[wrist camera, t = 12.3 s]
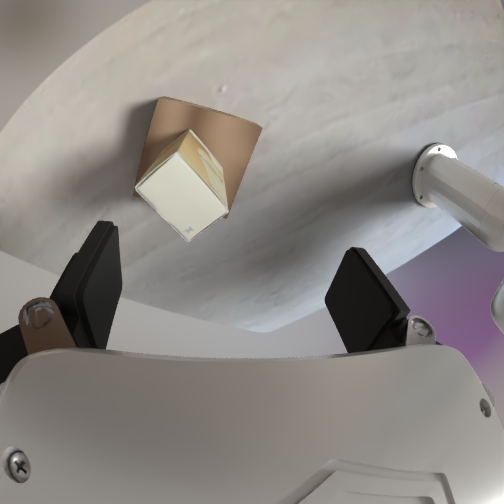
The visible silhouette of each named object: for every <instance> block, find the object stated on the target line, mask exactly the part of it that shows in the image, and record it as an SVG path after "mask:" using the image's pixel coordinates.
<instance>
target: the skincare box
mask: <svg viewBox="0 0 504 504" xmlns="http://www.w3.org/2000/svg"><path fill="white" fill-rule="evenodd" d="M135 190H136V191H137V192H138V193H139V194H140V195H141V196H142V197H143V198H144V199H145V200H146V201H147V202H148V203H149V204H150V205H151V207H152V208H153V209H154V210H155V211H156V212H157V213H158V214H159V215H160V216H161V217H162V218H163V219H164V220H165V221H166V222H167V223H168V224H169V225H170V226H171V227H172V228H173V229H174V230H175V231H176V232H177V233H178V234H179V235H180V236H182V237H183V238H184V239H185V241H187V242H190V241H191V240H192V239H194V238H195V237H196V236H198V235H199V234H200V233H202V232H203V231H205V230H206V229H207V228H209V227H210V226H212V225H213V224H214V223H216V222H217V221H218V220H219V219H221V218H222V217H223V216H224V215H226V214H227V213H228V212H229V210H228V204H227V197H226V190H225V183H224V175H223V168H222V166H221V165H220V164H219V162H218V161H217V160H216V158H215V157H214V156H213V154H212V153H211V152H210V151H209V150H208V148H207V147H206V146H205V145H204V144H203V143H202V141H201V140H200V139H199V138H198V137H197V136H196V135H195V134H194V132H193V131H192V130H191V129H189V130H188V131H186V132H185V133H184V134H182V135H181V136H180V137H178V138H177V139H176V140H175V141H173V142H172V143H171V144H170V145H169V146H168V147H166V148H165V149H164V150H163V151H162V152H161V153H160V155H159V156H158V157H157V158H156V160H155V161H154V162H153V164H152V165H151V166H150V167H149V169H148V170H147V171H146V173H145V174H144V175H143V177H142V178H141V179H140V181H139V182H138V183H137V185H136V186H135Z"/></svg>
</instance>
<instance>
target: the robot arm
mask: <svg viewBox="0 0 504 504" xmlns="http://www.w3.org/2000/svg"><path fill="white" fill-rule="evenodd" d="M412 187H413V193H414V195H415V198H416V199H417V201H418V202H419V203H420V204H422V205H423V206H424V207H427V208H435V207H439V208H441V209H442V210H443V211H445V212H446V213H447V214H448V215H450V216H451V217H452V218H454V219H455V220H456V221H457V222H459V223H460V224H461V225H462V226H463V227H465V228H466V229H467V230H468V231H470V232H471V233H472V234H473V235H474V236H475V237H477V238H478V239H479V240H480V241H481V242H482V243H483V244H485V245H486V246H487V247H488V248H490V249H491V250H494V251H498V252H503V251H504V186H503V185H501V184H500V183H498V182H496V181H495V180H493V179H492V178H490V177H488V176H487V175H485V174H483V173H481V172H480V171H478V170H476V169H474V168H473V167H471V166H469V165H467V164H465V163H463V162H461V161H459V160H458V158H457V156H456V153H455V152H454V150H453V149H452V148H450V147H449V146H447V145H445V144H442V143H437V144H433V145H431V146H430V147H428V148H427V149H426V150H425V151H424V152H423V153H422V154H421V156H420V157H419V159H418V161H417V163H416V166H415V169H414V172H413V179H412ZM121 291H122V274H121V263H120V251H119V235H118V226H114V224H113V222H111V221H98V222H97V223H96V225H95V226H94V228H93V229H92V231H91V233H90V234H89V236H88V237H87V239H86V240H85V242H84V244H83V245H82V247H81V248H80V250H79V252H78V253H75V254H74V255H73V256H72V258H71V260H70V261H69V263H68V265H67V266H66V268H65V270H64V272H63V274H62V275H61V277H60V279H59V281H58V283H57V284H56V286H55V288H54V290H53V292H52V294H51V296H50V298H45V297H39V298H35V299H32V300H30V301H29V302H27V303H26V304H25V305H24V306H23V307H22V309H21V310H20V313H19V317H18V318H19V324H18V325H16V326H14V327H12V328H11V329H9V330H7V331H5V332H3V333H1V334H0V504H504V431H503V428H502V426H501V423H500V421H499V419H498V416H497V414H496V412H495V410H494V408H493V407H494V398H493V396H492V393H491V392H490V391H489V390H488V389H487V388H486V387H485V386H484V385H483V384H482V383H481V382H480V380H479V378H478V376H477V375H476V373H475V371H474V370H473V368H472V367H471V365H470V364H469V362H468V361H467V359H466V358H465V357H464V356H463V354H461V353H460V352H459V351H457V350H455V349H453V348H451V347H447V346H444V345H442V344H440V343H438V342H437V341H436V340H435V339H436V338H435V336H436V335H435V331H434V328H433V327H432V326H431V324H430V323H429V322H428V321H427V320H426V319H424V318H422V317H420V316H416V315H414V316H411V317H410V318H409V319H408V320H407V318H406V316H407V315H408V313H409V312H410V309H409V308H408V306H407V305H406V303H405V302H404V301H403V299H402V298H401V296H400V295H399V294H398V292H397V291H396V289H395V288H394V287H393V285H392V284H391V283H390V281H389V280H388V279H387V277H386V276H385V275H384V273H383V272H382V271H381V269H380V268H379V267H378V265H377V264H376V263H375V262H374V260H373V259H372V258H371V256H370V255H369V254H368V253H367V251H366V250H365V249H364V248H357V247H351V248H350V249H349V250H347V251H346V253H345V255H344V257H343V259H342V261H341V264H340V266H339V268H338V270H337V272H336V275H335V277H334V279H333V281H332V283H331V285H330V287H329V290H328V292H327V294H326V296H325V304H326V306H327V308H328V310H329V312H330V315H331V317H332V319H333V321H334V323H335V325H336V328H337V330H338V332H339V334H340V336H341V338H342V341H343V343H344V345H345V347H346V350H347V352H348V353H346V354H335V355H322V356H307V357H288V358H201V357H181V356H169V355H155V354H143V353H132V352H124V351H115V350H106V346H107V342H108V338H109V334H110V329H111V326H112V322H113V319H114V315H115V311H116V308H117V304H118V301H119V298H120V294H121ZM491 315H492V318H493V320H494V322H495V323H496V325H497V326H498V328H499V329H500V330H501V331H502V333H503V334H504V279H503V281H502V283H501V284H500V286H499V288H498V290H497V291H496V293H495V295H494V297H493V299H492V302H491Z"/></svg>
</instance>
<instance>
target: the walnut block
mask: <svg viewBox="0 0 504 504" xmlns="http://www.w3.org/2000/svg"><path fill="white" fill-rule="evenodd" d="M189 129H191V130H192V131H193V132H194V134H195V135H196V136H197V137H198V138H199V139H200V140H201V141H202V143H203V144H204V145H205V146H206V147H207V148H208V150H209V151H210V152H211V153H212V154H213V156H214V157H215V158H216V160H217V161H218V162H219V164H220V165H221V166H222V168H223V175H224V183H225V190H226V197H227V204H228V210H229V211H230V209H231V206H232V203H233V201H234V198H235V196H236V193H237V190H238V188H239V185H240V183H241V180H242V178H243V175H244V173H245V170H246V168H247V165H248V163H249V160H250V158H251V155H252V153H253V150H254V148H255V145H256V143H257V140H258V138H259V136H260V133H261V131H262V127H260V126H259V125H258V124H256V123H254V122H251V121H248V120H245V119H242V118H239V117H236V116H233V115H230V114H227V113H224V112H221V111H217V110H214V109H211V108H207V107H204V106H200V105H197V104H193V103H189V102H186V101H182V100H178V99H174V98H169V97H165V96H164V97H159V99H158V102H157V105H156V108H155V111H154V114H153V118H152V121H151V124H150V128H149V131H148V135H147V138H146V142H145V146H144V150H143V154H142V158H141V162H140V166H139V170H138V175H137V179H136V184H135V186H136V185H137V183H138V182H139V181H140V179H141V178H142V177H143V175H144V174H145V173H146V171H147V170H148V169H149V167H150V166H151V165H152V164H153V162H154V161H155V160H156V158H157V157H158V156H159V155H160V153H161V152H162V151H163V150H164V149H165V148H166V147H168V146H169V145H170V144H171V143H172V142H173V141H175V140H176V139H177V138H178V137H180V136H181V135H182V134H184V133H185V132H186V131H188V130H189ZM133 196H138V197H142V196H141V195H140V194H139V193H138V192H137V191H136V190H135V189H134V194H133ZM142 198H143V197H142ZM228 214H229V212H228V213H227V214H226V215H224V216H223V217H222V218H226V219H227V216H228Z"/></svg>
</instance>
